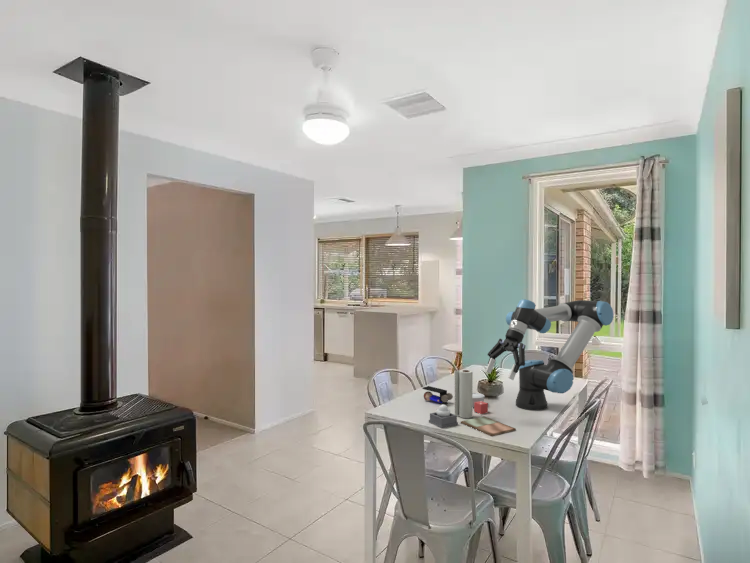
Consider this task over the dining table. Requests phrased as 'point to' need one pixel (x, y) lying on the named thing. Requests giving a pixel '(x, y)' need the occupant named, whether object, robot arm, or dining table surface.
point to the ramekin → (477, 398)
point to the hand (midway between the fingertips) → (499, 375)
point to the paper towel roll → (463, 393)
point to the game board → (488, 426)
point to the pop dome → (443, 411)
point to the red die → (481, 407)
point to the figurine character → (443, 396)
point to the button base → (443, 420)
